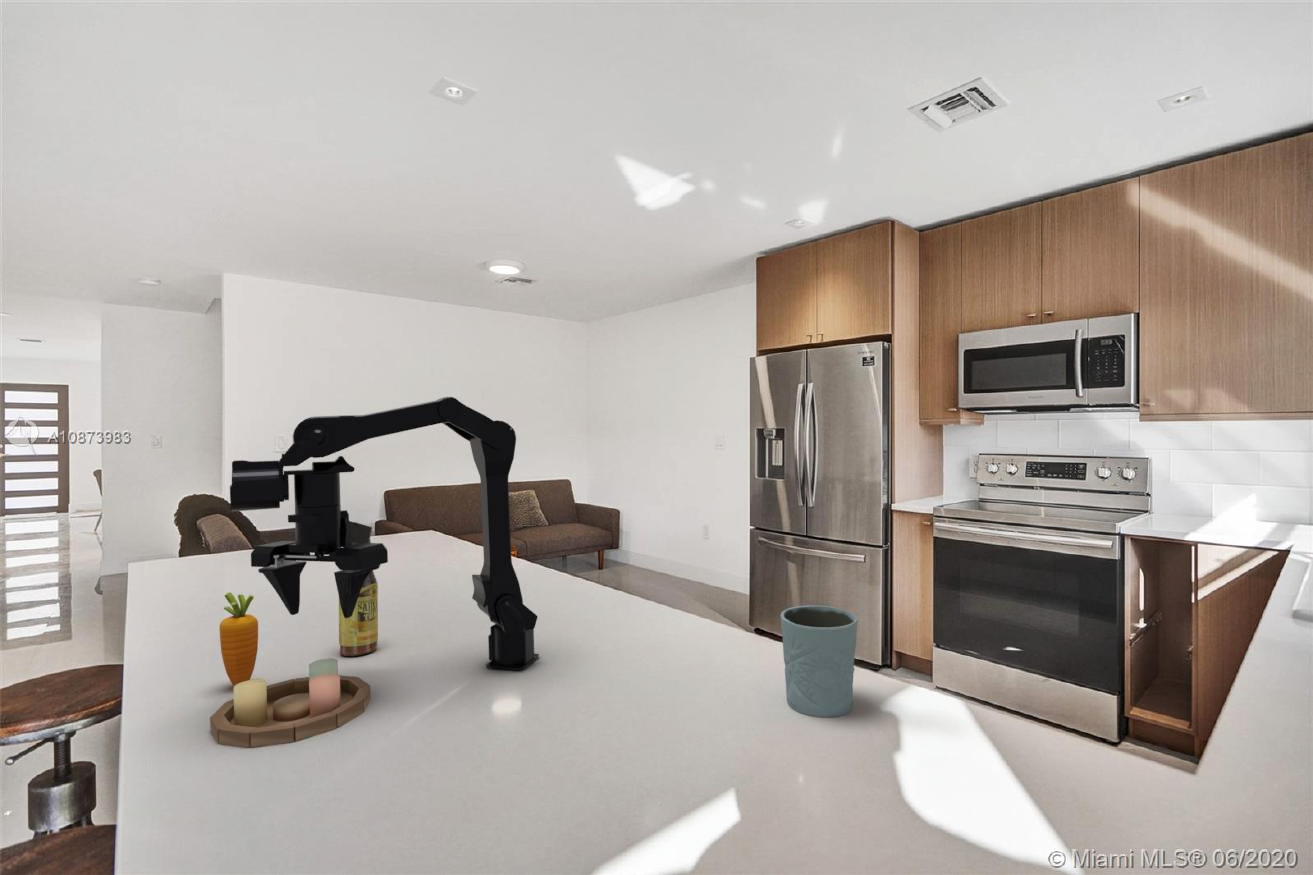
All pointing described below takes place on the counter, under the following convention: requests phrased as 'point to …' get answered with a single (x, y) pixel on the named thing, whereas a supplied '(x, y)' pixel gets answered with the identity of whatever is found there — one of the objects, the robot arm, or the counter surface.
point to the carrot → (239, 640)
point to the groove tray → (294, 728)
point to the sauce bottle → (361, 622)
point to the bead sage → (323, 667)
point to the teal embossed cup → (819, 659)
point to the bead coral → (324, 694)
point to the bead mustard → (250, 703)
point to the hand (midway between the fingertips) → (321, 615)
